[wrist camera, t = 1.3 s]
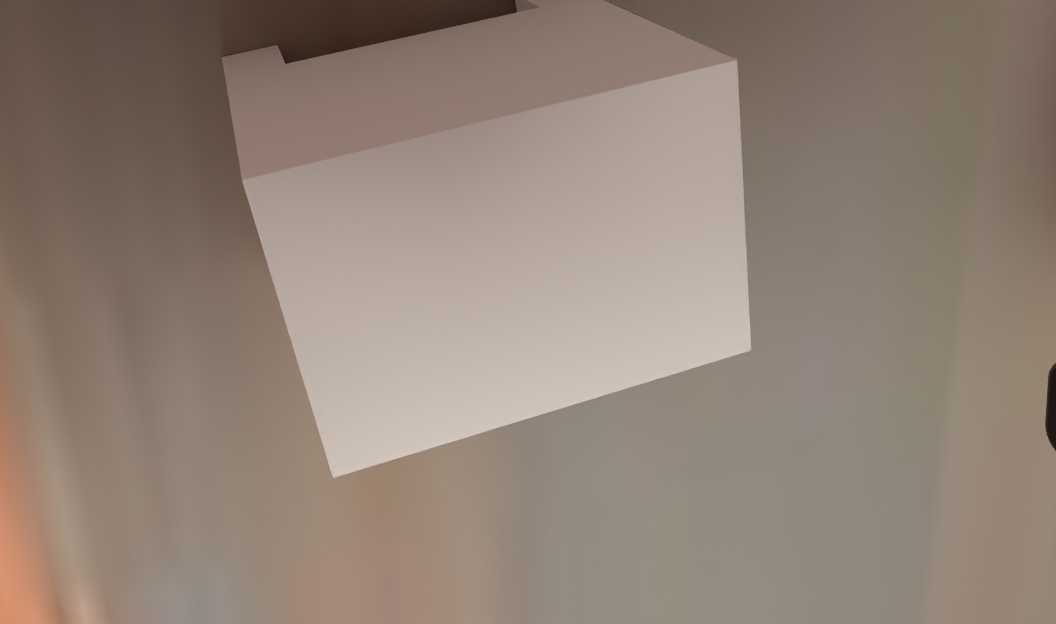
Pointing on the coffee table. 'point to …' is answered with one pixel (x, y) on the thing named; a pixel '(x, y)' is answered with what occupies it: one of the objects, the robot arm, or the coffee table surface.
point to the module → (495, 219)
